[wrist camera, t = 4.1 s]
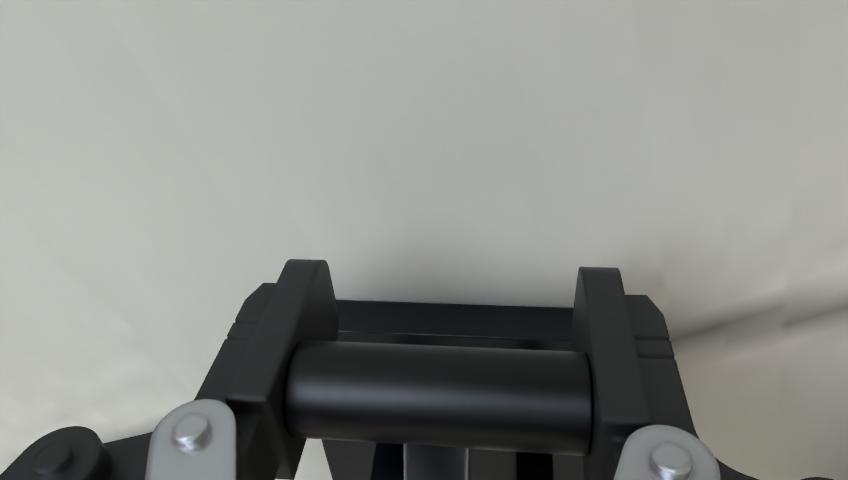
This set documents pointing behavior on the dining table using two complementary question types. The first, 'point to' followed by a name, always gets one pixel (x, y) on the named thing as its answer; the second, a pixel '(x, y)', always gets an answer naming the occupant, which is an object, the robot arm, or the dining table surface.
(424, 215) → the dining table surface
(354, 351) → the lever
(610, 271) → the robot arm
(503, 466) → the bracket
